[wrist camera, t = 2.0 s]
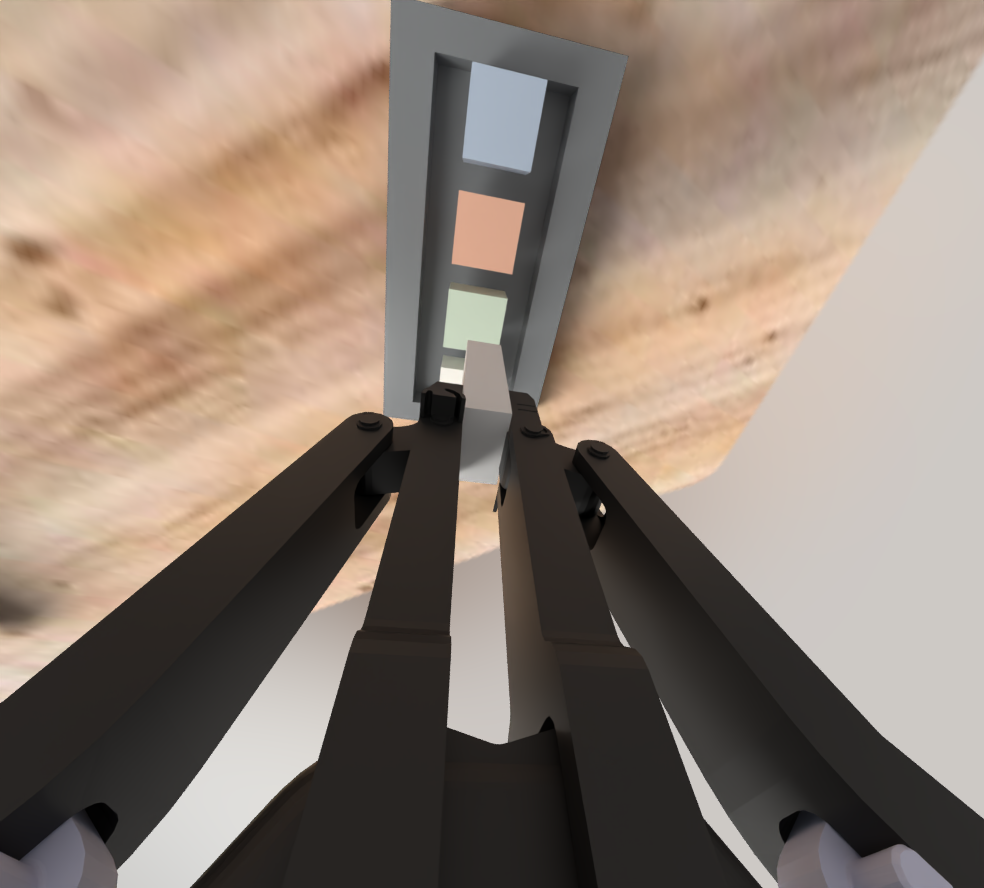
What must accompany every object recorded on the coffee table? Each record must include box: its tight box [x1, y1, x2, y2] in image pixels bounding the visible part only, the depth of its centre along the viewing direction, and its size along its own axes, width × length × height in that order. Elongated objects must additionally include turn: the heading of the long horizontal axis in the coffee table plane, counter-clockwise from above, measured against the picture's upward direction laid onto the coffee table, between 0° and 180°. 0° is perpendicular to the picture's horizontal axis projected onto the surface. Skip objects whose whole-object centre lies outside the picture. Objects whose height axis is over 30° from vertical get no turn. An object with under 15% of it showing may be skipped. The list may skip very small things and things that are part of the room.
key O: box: [439, 355, 465, 385], centre depth 27 cm, size 4×4×2 cm
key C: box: [443, 282, 508, 350], centre depth 25 cm, size 4×4×2 cm
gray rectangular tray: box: [383, 0, 628, 421], centre depth 26 cm, size 12×23×4 cm, turn 170°
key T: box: [452, 190, 525, 274], centre depth 22 cm, size 4×4×2 cm
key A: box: [462, 61, 547, 175], centre depth 20 cm, size 4×4×2 cm
